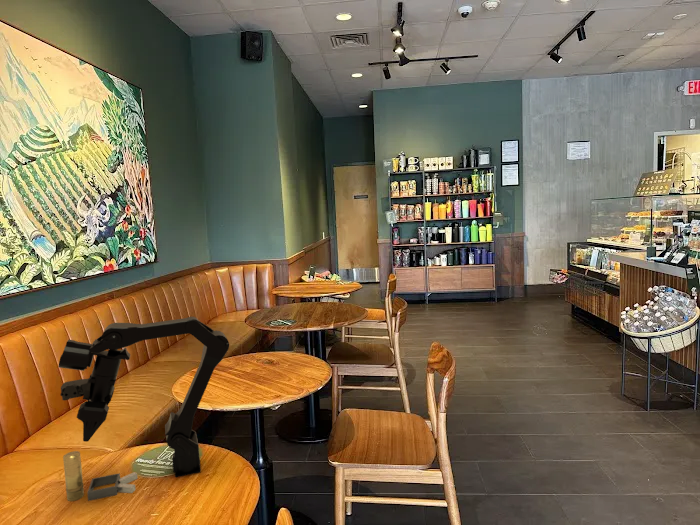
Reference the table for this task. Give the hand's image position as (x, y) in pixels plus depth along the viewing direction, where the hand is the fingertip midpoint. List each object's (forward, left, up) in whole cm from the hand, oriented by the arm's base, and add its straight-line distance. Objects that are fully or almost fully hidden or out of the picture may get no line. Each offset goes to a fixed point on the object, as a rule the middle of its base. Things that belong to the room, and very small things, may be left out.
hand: (88, 433), depth 115 cm
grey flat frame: (-5, +2, -15) cm, 16 cm away
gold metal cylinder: (+4, +2, -15) cm, 16 cm away
